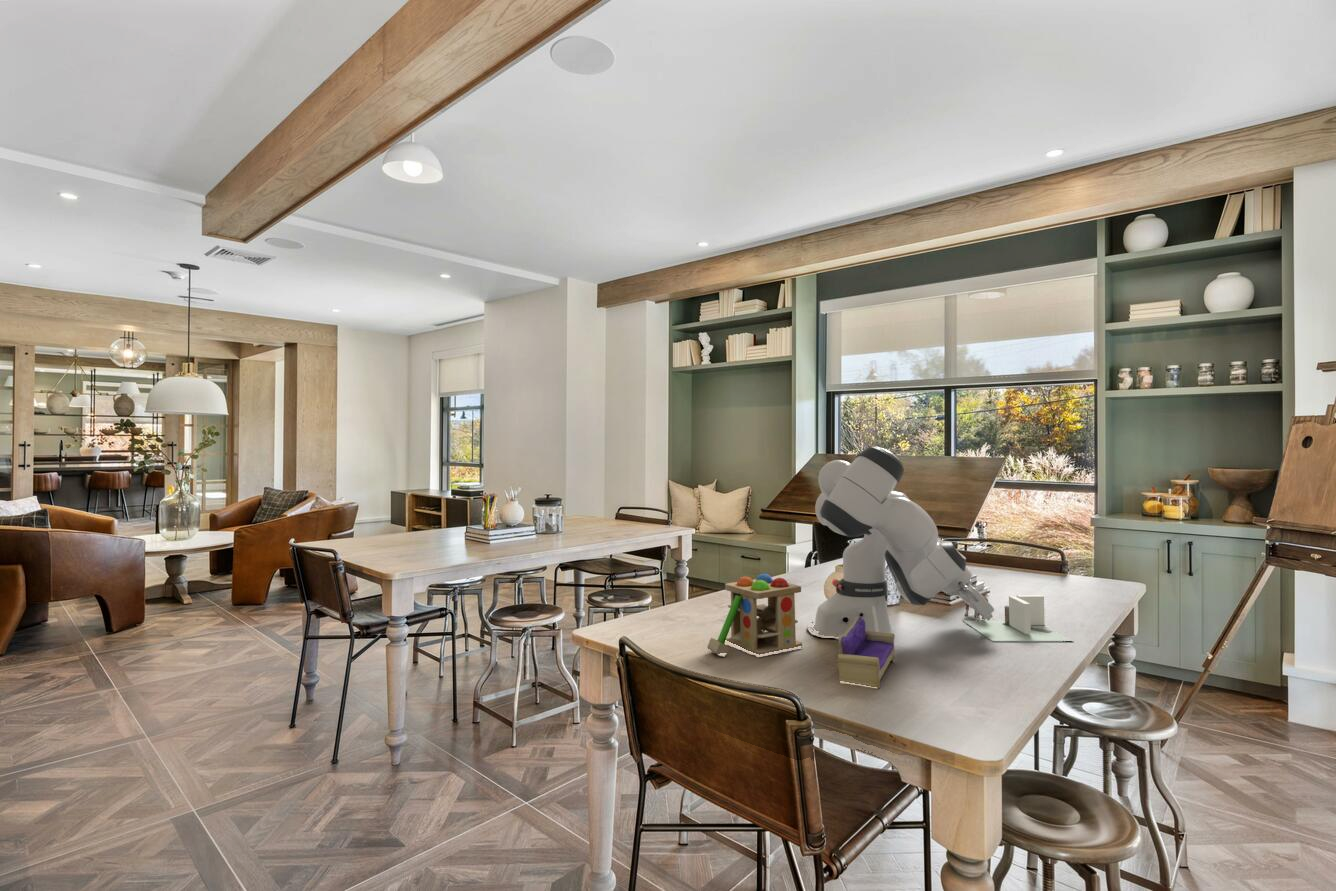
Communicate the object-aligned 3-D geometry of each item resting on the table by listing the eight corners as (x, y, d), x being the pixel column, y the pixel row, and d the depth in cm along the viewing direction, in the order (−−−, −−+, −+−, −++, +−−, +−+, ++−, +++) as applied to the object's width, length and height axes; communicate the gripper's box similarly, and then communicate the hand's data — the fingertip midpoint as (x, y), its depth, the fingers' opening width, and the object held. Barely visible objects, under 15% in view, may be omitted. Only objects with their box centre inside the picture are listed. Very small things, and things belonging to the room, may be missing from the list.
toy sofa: (879, 691, 137) (878, 642, 137) (837, 685, 141) (836, 637, 141) (896, 662, 155) (895, 618, 155) (858, 657, 159) (857, 614, 159)
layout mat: (992, 642, 169) (992, 640, 169) (963, 621, 189) (963, 620, 189) (1073, 642, 167) (1073, 640, 167) (1035, 621, 187) (1035, 620, 187)
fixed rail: (1007, 625, 182) (1006, 596, 182) (1003, 623, 185) (1002, 595, 185) (1045, 625, 181) (1044, 596, 182) (1041, 623, 184) (1040, 594, 184)
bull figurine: (974, 612, 199) (973, 585, 200) (991, 622, 186) (991, 593, 186) (959, 612, 200) (958, 585, 200) (975, 621, 186) (975, 592, 187)
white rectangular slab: (1009, 625, 182) (1008, 596, 182) (1015, 625, 182) (1014, 596, 182) (1024, 634, 173) (1024, 603, 173) (1030, 634, 173) (1030, 603, 173)
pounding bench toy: (730, 665, 155) (728, 589, 155) (696, 650, 167) (695, 579, 167) (803, 648, 166) (802, 577, 166) (767, 635, 179) (766, 569, 179)
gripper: (976, 580, 168) (1013, 621, 167) (951, 562, 188) (984, 599, 188) (957, 596, 169) (994, 637, 168) (934, 576, 189) (967, 613, 188)
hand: (988, 617), depth 178 cm, fingers closed
